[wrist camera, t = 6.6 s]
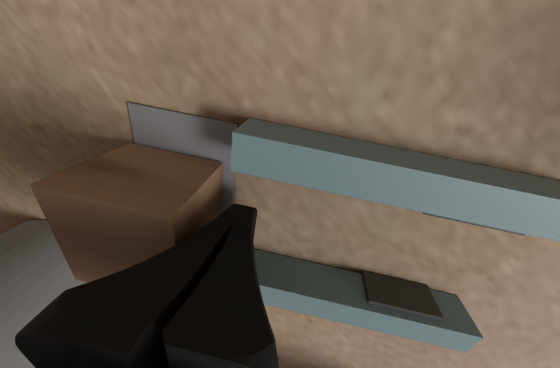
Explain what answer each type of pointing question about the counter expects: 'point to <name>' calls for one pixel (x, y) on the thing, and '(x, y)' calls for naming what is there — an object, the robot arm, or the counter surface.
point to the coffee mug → (28, 282)
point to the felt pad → (186, 138)
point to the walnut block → (128, 206)
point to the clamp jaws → (397, 192)
